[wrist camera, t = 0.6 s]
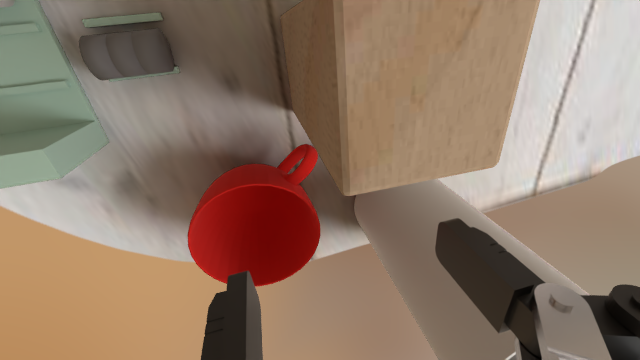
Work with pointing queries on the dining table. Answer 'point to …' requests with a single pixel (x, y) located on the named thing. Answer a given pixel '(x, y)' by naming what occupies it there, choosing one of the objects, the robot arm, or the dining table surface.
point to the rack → (127, 20)
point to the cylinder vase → (440, 266)
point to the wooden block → (405, 84)
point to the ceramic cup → (257, 221)
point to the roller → (127, 54)
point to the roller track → (40, 101)
